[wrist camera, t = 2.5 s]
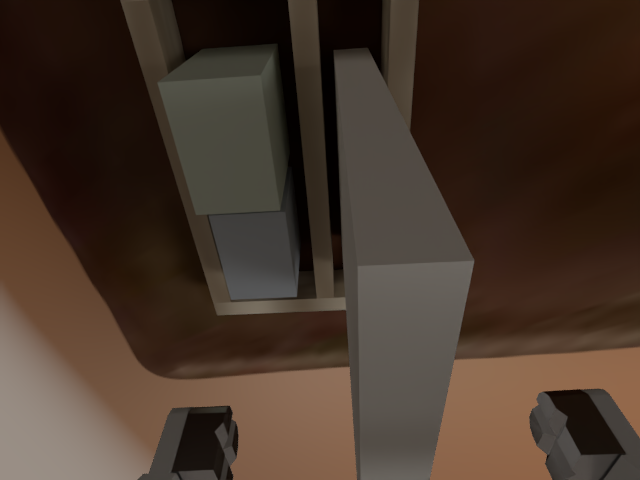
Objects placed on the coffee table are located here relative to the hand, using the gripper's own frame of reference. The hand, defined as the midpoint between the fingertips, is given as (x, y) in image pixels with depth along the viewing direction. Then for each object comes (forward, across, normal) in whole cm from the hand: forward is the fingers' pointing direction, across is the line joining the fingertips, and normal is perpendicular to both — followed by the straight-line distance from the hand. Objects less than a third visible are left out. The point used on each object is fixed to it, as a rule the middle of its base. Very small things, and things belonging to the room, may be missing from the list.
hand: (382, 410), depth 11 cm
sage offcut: (+17, +5, -4) cm, 18 cm away
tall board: (+17, 0, 0) cm, 17 cm away
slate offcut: (+17, +5, +3) cm, 18 cm away
